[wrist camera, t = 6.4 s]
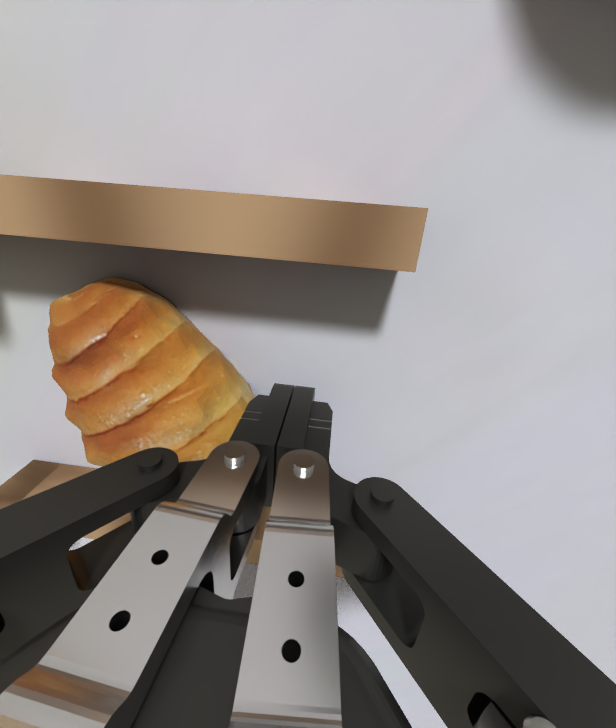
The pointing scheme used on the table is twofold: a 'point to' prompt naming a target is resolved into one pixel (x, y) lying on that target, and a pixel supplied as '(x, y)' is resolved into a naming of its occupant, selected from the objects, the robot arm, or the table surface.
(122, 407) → the pastry
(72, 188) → the pair of wooden bars
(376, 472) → the table surface
